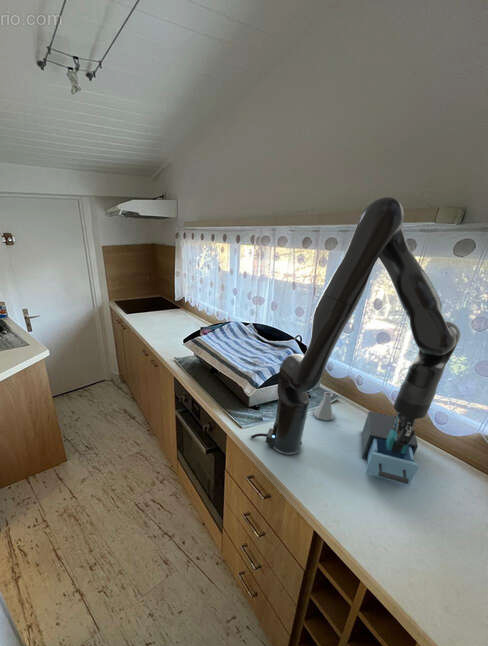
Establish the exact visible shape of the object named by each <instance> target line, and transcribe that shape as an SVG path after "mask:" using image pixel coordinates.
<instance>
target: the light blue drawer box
mask: <svg viewBox="0 0 488 646" xmlns="http://www.w3.org/2000/svg"><path fill="white" fill-rule="evenodd" d="M367 452H368V459H367V465H366V467H365V472H364V473H365V474H366V475H369V476H374V477H377V478H380V479H384V480H388V481H391V482H394V483H398V484H402V485H404V486H405V485H406V486H408V487H409V486H410V485H411V483H412V481H413V480H414V477H415V475H416V473H417V471H418V469H419V466H420V465H419V462H415V457H414V456H415V455H414V456H413V452H412V447H411V446H408V447H407V449H406V452H405V454H403V453H396V452H392V451H391V450H387V446H386V440H382V439H378V438H374V437H372V439H371V442H370V445H369V448H368V451H367Z"/></svg>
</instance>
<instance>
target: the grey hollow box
mask: <svg viewBox="0 0 488 646" xmlns="http://www.w3.org/2000/svg"><path fill="white" fill-rule="evenodd" d="M395 417H396V415H395V416H394V415H390V414H386V413H380V412H376V411H371V410H369V411H368V413H367V416H366V419H365V421H364V425H363V428H362V431H361V458H362V459H365V460H368V452H367V451H368V448H369V445H370V442H371V439H372V437H374V438H378V439H382V440H386V439H387V437H388V434H389V432H390V429H391V430H393V427H394V423H393V422H394V420H395ZM413 431H415V427H413ZM408 446H411V447H412V452H413V456H415V454H416V451H417V449H418V447H419V444H418V439H417V436H416V433H415V434H414V435H413V437H412V439H411V440H410V442H409V445H408Z"/></svg>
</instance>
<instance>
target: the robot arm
mask: <svg viewBox="0 0 488 646" xmlns="http://www.w3.org/2000/svg"><path fill="white" fill-rule="evenodd" d="M404 218H405V210H404V207H403V205H402V203H401V202H400V201H399V200H398V199H397V198H395V197H394V196H383V197H379V198H377V199H375V200H373V201H372V202H370V203H369V204H368V205H367V206H366V207H365V208H364V209H363V211H362V213H360V216H359V218H358V221H357V223H356V226H355V229H354V233H353V235H352V237H351V239H350V242H349V245H348V246H347V249H346V251H345V254H344V256H343V257H342V260H341V261H340V263H339V264H338V266H337V268H336V269H335V271H334V273H333V274H332V276H331V277H330V280H329V282H328V283H327V285H326V287H325V289H324V290H323V292H322V295H321V296H320V298H319V300H318V302H317V304H316V306H315V309H314V311H313V315H312V323H311V335H310V341H309V345H308V347H307V349H306V352H305V354H304V355H303V354H300V353H293V354H290V355H288V356H286V357H285V358H284V359H283V361H282V362H281V364H280V367H279V371H278V379H277V398H278V401H277V407H276V413H275V420H274V421H275V422H274V423H273V427H272V428H269V429H268V432H267V433H255V434H252V435H251V437H250V438H252V439H255V438H257V437H265V443H266V444H269V445H270V448H271V449H274V450H275V451H276V452H277V453H279V454H281V455H286V456H287V455H288V456H293V455H296V454H298V453H299V452H300V451H301V446H302V444H303V441H302V439H303V435H304V431H305V425H306V419H307V415H308V412H309V411H308V410H309V405H310V398H309V394H308V392H311V390H313V389H314V388H316V386H318V383H319V382H320V380H321V378H322V376H323V374H324V371H325V369H326V367H327V365H328V362H329V360H330V357H331V355H332V352H333V350H334V349H335V346H336V345H337V343H338V341H339V339H340V337H341V335H342V333H343V331H344V329H345V328H346V326H347V324H348V323H349V321H350V319H351V318H352V316H353V314H354V312H355V310H356V309H357V307H358V305H359V303H360V301H361V299H362V297H363V294H364V293H365V289H366V287H367V284H368V282H369V279H370V276H371V274H372V271H373V269H374V266H375V265H376V263H377V261H378V259H379V261H380V263H381V264H382V266H383V268H384V270H385V272H386V274H387V276H388V278H389V281H390V283H391V285H392V287H393V290H394V293H395V295H396V296H397V299H398V301H399V303H400V305H401V307H402V309H403V311H404V313H405V315H406V316H407V318H408V322H409V327H410V329H411V334H412V336H413V340H414V343H415V344H416V346H417V348H418V349H419V350H418V352H417V354H416V356H415V358H414V359H413V360H412V362H411V363H410V365H409V367H408V370H407V372H406V374H405V377H404V380H403V382H402V383H401V386H400V387H399V391H398V393H397V395H396V398H395V401H394V403H393V409H394V410H395V412H396V414H395V420H394V422H393V423H394V427H393V430H395V432H396V433H397V435H396V438H395V441H394V444H393V446H392V452H396V453H401V451H402V448H403V446H404V445H405V446H407V445H408V444H409V442H410V440H411V439H412V437H413V435H414V434H415V435H416V431H415V430H414V431H413V428H415V426H416V423H417V422H416V420H417V419H423V418H425V417H426V416H427V414H428V412H429V409H430V407H431V405H432V403H433V400H434V399H435V396H436V394H437V389H438V386H439V383H440V382H441V379H442V377H443V375H444V371H445V368H446V366H447V364H448V362H449V361H450V359H451V357H452V356H453V353H454V352H455V351H456V350H455V349H456V347H458V345H459V341H460V339H461V331H460V328H459V327H458V325H456V324H455V323H453V322H451V321H446V319H445V318H444V315H443V313H442V307H443V305H442V304H443V303H442V301H441V298H440V296H439V294H438V292H437V290H436V289H435V287H434V285H433V282H432V281H431V279H430V277H429V276H428V274H427V273H426V272H425V270H424V269H423V267H422V266H421V264H420V263H419V261H418V260H417V259H416V256H414V253H413V252H412V250H411V248H410V246H409V244H408V241H407V238H406V235H405V231H404V227H403V222H404Z"/></svg>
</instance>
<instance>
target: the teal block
mask: <svg viewBox="0 0 488 646" xmlns="http://www.w3.org/2000/svg"><path fill="white" fill-rule="evenodd" d="M396 435H397V433H396V432H395V430H391V429H390V432H389V434H388V437H387V439H386V446H387V450H391V451H392V446H393V444H394V441H395V438H396ZM408 445H409V444H408ZM408 445H407V446H405V445H404V446H403V448H402V451H401V453H403V454H405V452H406V449H407V447H408Z"/></svg>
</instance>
